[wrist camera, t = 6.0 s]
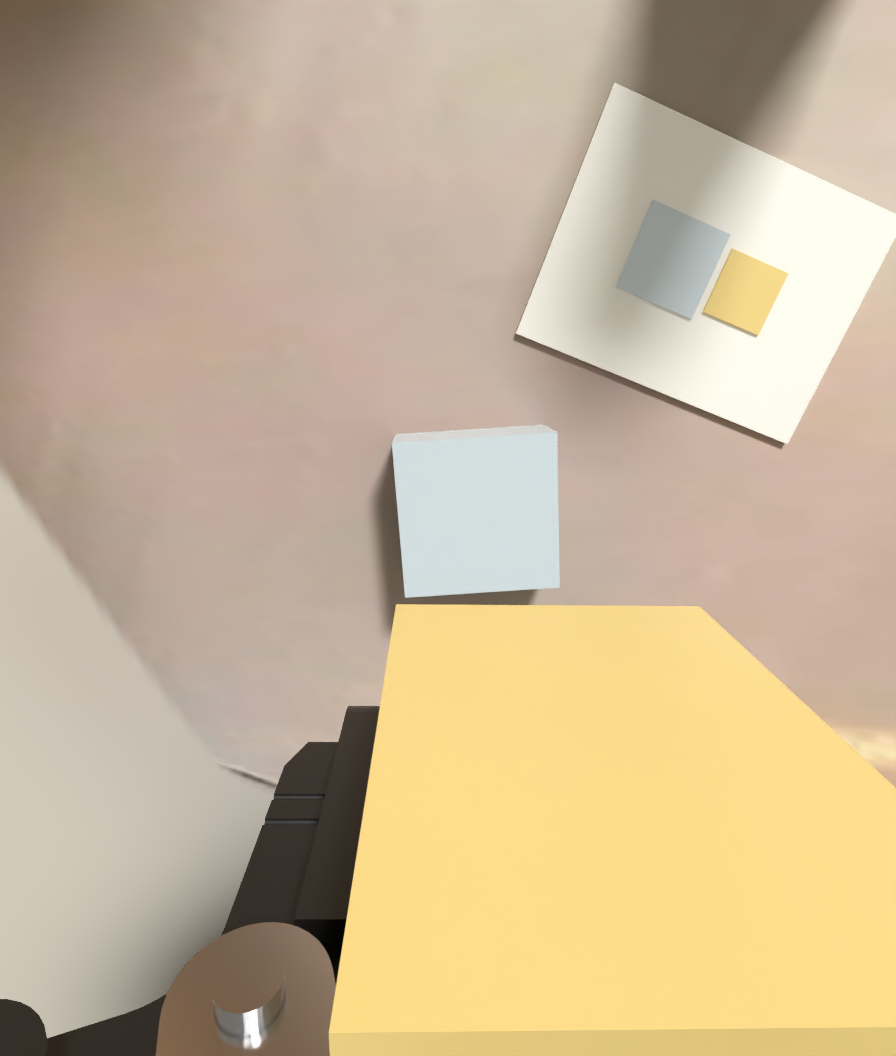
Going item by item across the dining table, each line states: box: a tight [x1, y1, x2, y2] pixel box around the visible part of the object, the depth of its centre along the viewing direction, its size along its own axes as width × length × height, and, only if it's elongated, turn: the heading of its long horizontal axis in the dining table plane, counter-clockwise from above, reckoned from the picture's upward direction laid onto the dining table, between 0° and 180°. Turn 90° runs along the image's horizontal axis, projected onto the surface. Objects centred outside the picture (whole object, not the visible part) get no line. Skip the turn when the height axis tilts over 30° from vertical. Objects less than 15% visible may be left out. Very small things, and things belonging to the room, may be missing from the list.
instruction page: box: [515, 83, 896, 444], centre depth 23 cm, size 12×9×1 cm
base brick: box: [392, 425, 560, 598], centre depth 25 cm, size 6×6×3 cm
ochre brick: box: [329, 604, 896, 1056], centre depth 7 cm, size 4×4×6 cm
